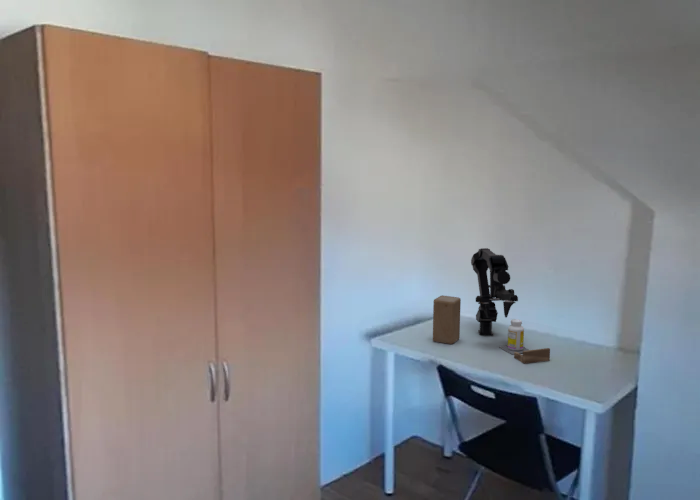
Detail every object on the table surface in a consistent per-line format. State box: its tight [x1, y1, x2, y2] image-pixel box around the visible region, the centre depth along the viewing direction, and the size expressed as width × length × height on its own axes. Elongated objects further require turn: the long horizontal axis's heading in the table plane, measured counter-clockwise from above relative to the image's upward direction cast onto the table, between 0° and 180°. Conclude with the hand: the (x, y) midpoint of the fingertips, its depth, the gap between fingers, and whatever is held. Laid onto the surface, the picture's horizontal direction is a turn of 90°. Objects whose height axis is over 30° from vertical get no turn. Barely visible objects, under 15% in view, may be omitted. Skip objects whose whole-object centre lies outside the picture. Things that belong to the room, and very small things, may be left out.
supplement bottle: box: [507, 318, 525, 351], centre depth 262 cm, size 7×7×13 cm
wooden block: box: [432, 295, 461, 345], centre depth 275 cm, size 10×10×20 cm
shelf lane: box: [513, 347, 551, 364], centre depth 251 cm, size 7×12×5 cm, turn 108°
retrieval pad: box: [499, 345, 529, 356], centre depth 263 cm, size 10×10×1 cm
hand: (497, 317), depth 269 cm, fingers open, 9 cm apart
